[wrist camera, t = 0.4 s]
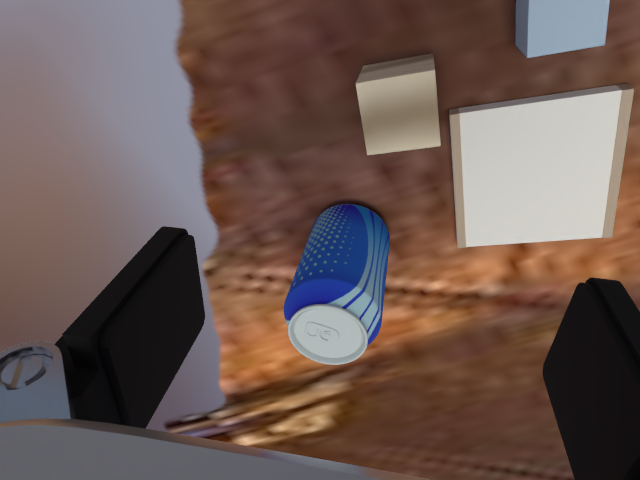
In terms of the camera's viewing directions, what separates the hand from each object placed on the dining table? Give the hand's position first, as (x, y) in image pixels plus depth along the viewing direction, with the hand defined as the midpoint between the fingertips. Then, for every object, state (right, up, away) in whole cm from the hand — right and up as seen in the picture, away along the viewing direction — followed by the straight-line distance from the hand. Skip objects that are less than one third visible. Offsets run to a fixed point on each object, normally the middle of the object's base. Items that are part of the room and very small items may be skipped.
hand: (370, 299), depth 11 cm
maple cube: (+6, +15, +29) cm, 33 cm away
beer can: (+2, +3, +39) cm, 39 cm away
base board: (+19, +8, +31) cm, 37 cm away
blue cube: (+17, +20, +24) cm, 35 cm away
